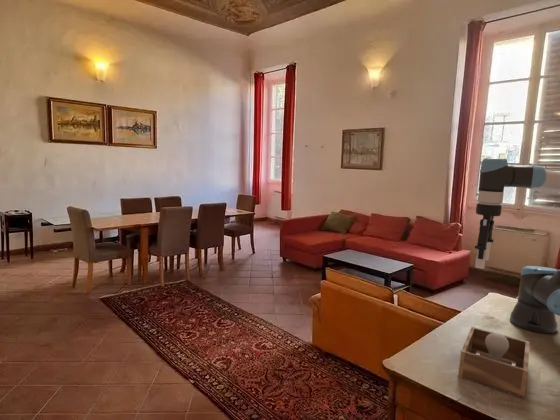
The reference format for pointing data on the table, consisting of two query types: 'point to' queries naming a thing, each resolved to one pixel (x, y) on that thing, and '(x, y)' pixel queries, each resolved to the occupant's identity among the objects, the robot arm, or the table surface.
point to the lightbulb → (496, 345)
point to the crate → (495, 363)
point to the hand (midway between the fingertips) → (482, 263)
